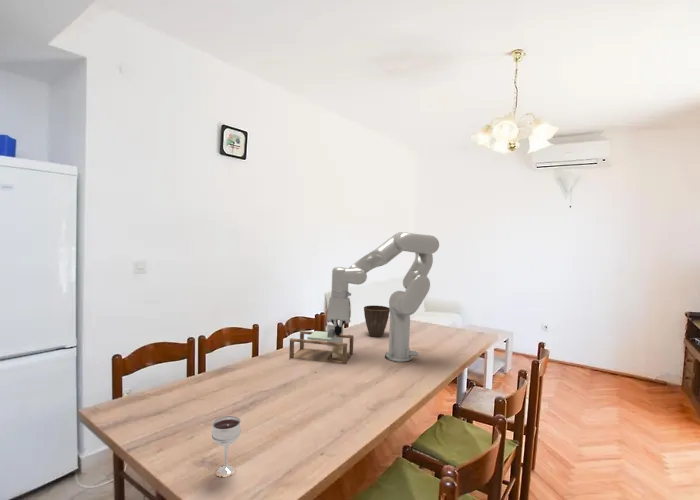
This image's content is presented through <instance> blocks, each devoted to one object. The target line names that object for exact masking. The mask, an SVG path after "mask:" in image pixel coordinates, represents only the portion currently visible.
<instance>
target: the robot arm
mask: <svg viewBox="0 0 700 500" xmlns="http://www.w3.org/2000/svg"><path fill="white" fill-rule="evenodd" d="M439 248H440V241H439V239H438V238H437V237H436V236H434V235H429V234H419V233H413V232H412V233H411V232H405V231H404V232H396V233H394V234H393V235H392V236H391V237H390V238H388V239H386V241H384V242H383V243H382V244H381V245H379V246H378V247H376V248H375V249H373V250H372V251H369V253H367V254H365V255H363V256H362V257H361V258H359V259H358V260H356V261H355V262H354V263H353V264H351V265H350V266H349V267H343V266H336V267H333V268H332V271H331V272H332V274H331V292H330V293H331V296H329V300H328V306H327V313H326V314H327V315H326V316H327V318H326V321H327V322H332V323H333V325H334V326H335V333H336V335H338V336H339V335H340V334H341V333H342V326H343V327H344V325H345V324H350V323H351V317H352V316H351V315H352V309H351V298H350V297H351V296H352V293H351V292H349V284H350V285H359V286H360V285H363V284H364V283H366V281H367V280H368V279H367V278H368V273H369V272H370V271H372V270H373V269H375V268H379V267H382V266H385V265H387V264H388V263H390V262H391V261H392V260H393V259H395V258H396V257H397V256H399V255H400V254H401V253H402V252H409V253H415V258H414V260H413V262H412V265H411V266H410V268H409V269H408V271H407V272H406V274H405V276H404V277H403V279H402V286H403V288H405V290H404V291H403V290H396V291H394V292H393V293H391V295H390V297H389V300H388V304H389V305H388V307H389V309H390V312H389V328H388V329H389V330H388V332H389V335H388V336H389V337H388V351H387V352H385V355H384V357H385V359H387V360H389V361H393V362H398V363H402V362H403V363H405V362H409V361H411V360H413V357H419V352H418V351H416V350H412V349H411V347H410V333H411V316H412V315H413V314H415V313H416V312H417V311H418V309H419V308H420V307H421V304H422V303H423V301H424V300H425V298H426V296H427V295H428V293H429V291H430V288H431V280H430V279H429V277H428V274H429V273H430V271H431V269H432V266H433V262H434V256H433V255H434V253H437V251H438V250H439ZM338 322H340V323H339V325H338Z"/></svg>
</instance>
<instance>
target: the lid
mask: <svg viewBox="0 0 700 500" xmlns="http://www.w3.org/2000/svg"><path fill="white" fill-rule="evenodd" d="M312 332H313V333H312V334H311V335H309V334H308V336H307V337H306V340H315V341H325V342H327V341H330V342H331V341H332V340H333V339H334V338H335V337H336V336H337V335H336V333H335V329H330V330H329V331H328V332H327V331H319V330H315V331H312Z"/></svg>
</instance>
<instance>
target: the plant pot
mask: <svg viewBox="0 0 700 500" xmlns="http://www.w3.org/2000/svg"><path fill="white" fill-rule="evenodd" d="M363 313H364V321H365V323H366V324H365V325H366V329H367V332H368V335H369V336H370V337H373V338H382V337H383V335H384V334H385V333H384V332H385V331H386V328H387V324H388V321H389V318H390V309H389V306H384V305H374V304H373V305H365V306H364V307H363Z"/></svg>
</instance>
